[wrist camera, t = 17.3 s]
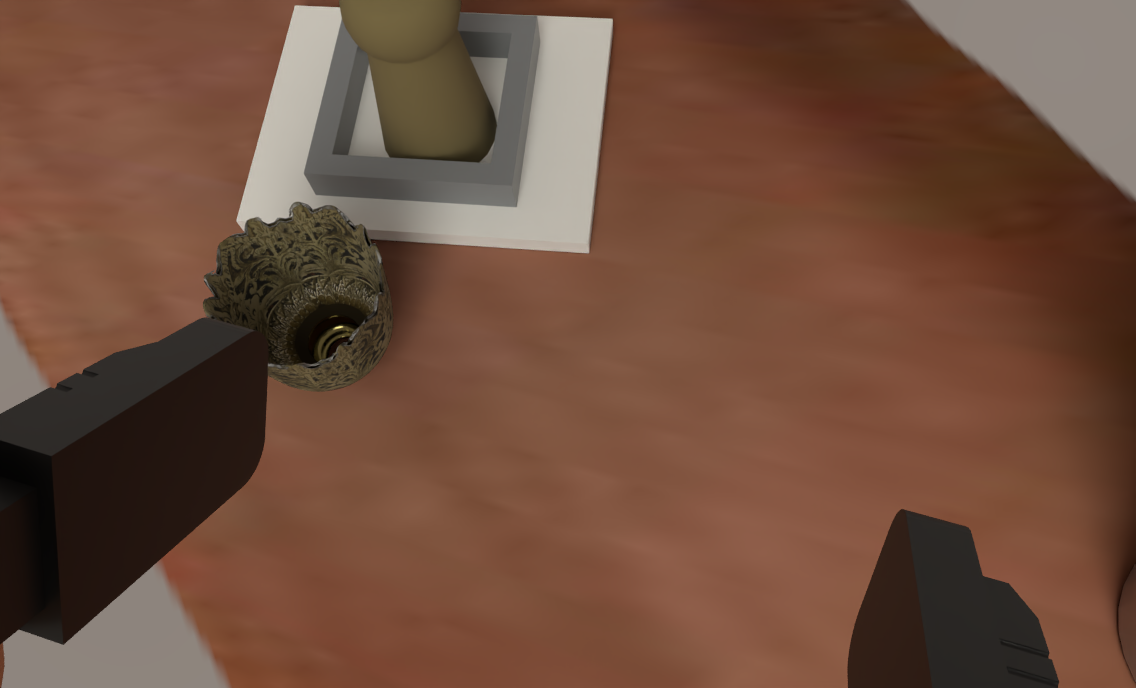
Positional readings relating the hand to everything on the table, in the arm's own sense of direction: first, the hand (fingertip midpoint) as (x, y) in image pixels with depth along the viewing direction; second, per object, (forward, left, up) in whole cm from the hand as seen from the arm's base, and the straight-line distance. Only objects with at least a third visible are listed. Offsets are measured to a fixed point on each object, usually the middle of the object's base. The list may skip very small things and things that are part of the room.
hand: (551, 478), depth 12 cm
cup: (+14, -13, -30) cm, 36 cm away
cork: (+11, -25, -29) cm, 40 cm away
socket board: (+11, -26, -30) cm, 42 cm away
